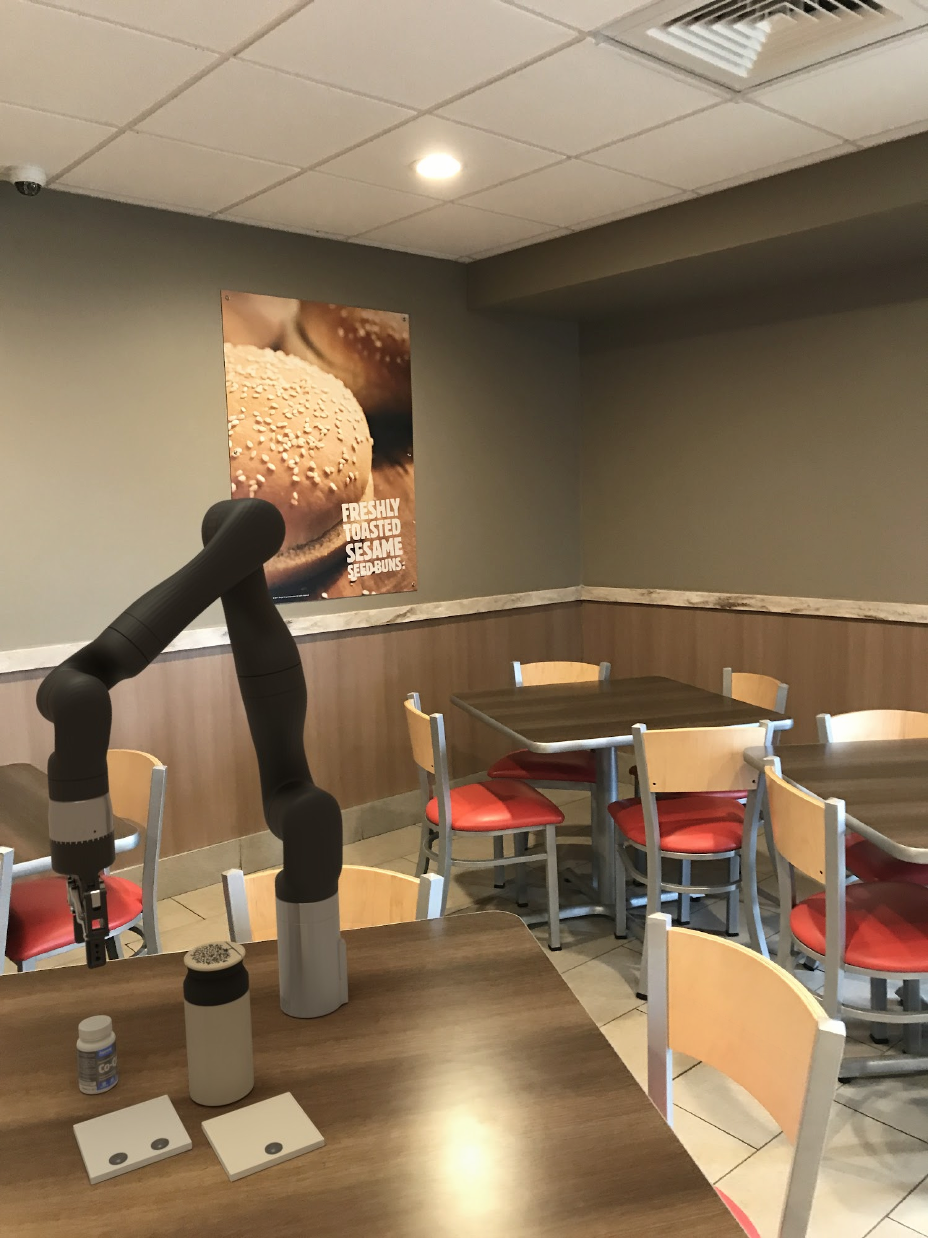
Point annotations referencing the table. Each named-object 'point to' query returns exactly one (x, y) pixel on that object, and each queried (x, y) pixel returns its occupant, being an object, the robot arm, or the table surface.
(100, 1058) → the pill bottle
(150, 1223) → the table surface
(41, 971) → the table surface
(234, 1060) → the travel mug
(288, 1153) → the one-dot pad
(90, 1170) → the two-dot pad
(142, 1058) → the table surface
